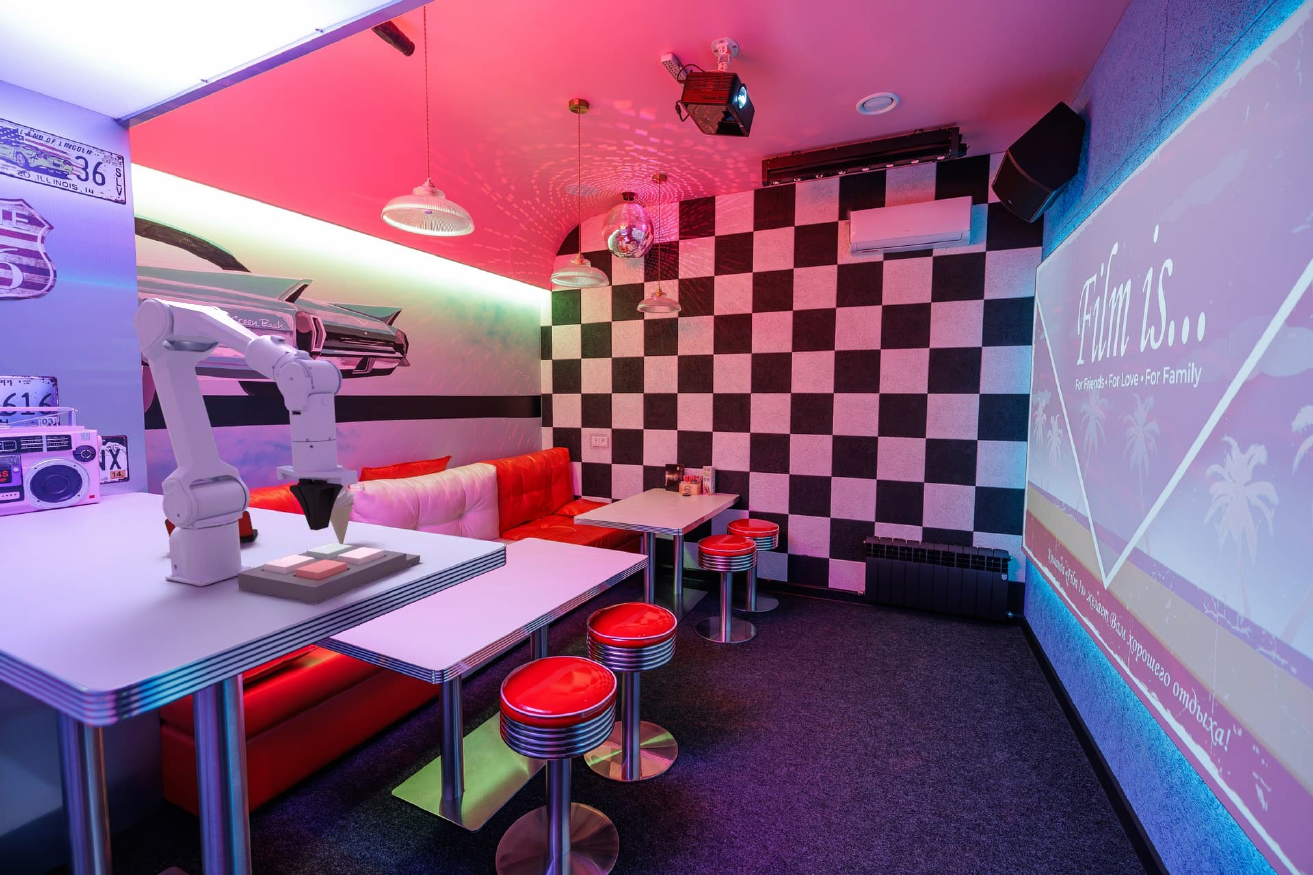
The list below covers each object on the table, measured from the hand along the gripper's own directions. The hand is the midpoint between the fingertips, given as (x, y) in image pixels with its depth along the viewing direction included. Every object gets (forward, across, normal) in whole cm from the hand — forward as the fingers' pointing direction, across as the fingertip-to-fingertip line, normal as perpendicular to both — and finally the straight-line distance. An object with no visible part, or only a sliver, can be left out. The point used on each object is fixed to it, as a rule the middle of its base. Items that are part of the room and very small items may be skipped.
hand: (319, 528), depth 82 cm
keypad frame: (+9, +3, -5) cm, 11 cm away
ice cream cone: (+10, +18, -18) cm, 27 cm away
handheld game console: (+10, +41, -9) cm, 43 cm away
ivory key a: (+7, +7, 0) cm, 10 cm away
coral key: (+7, 0, 0) cm, 7 cm away
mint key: (+7, +7, -7) cm, 12 cm away
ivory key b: (+7, 0, -7) cm, 10 cm away
